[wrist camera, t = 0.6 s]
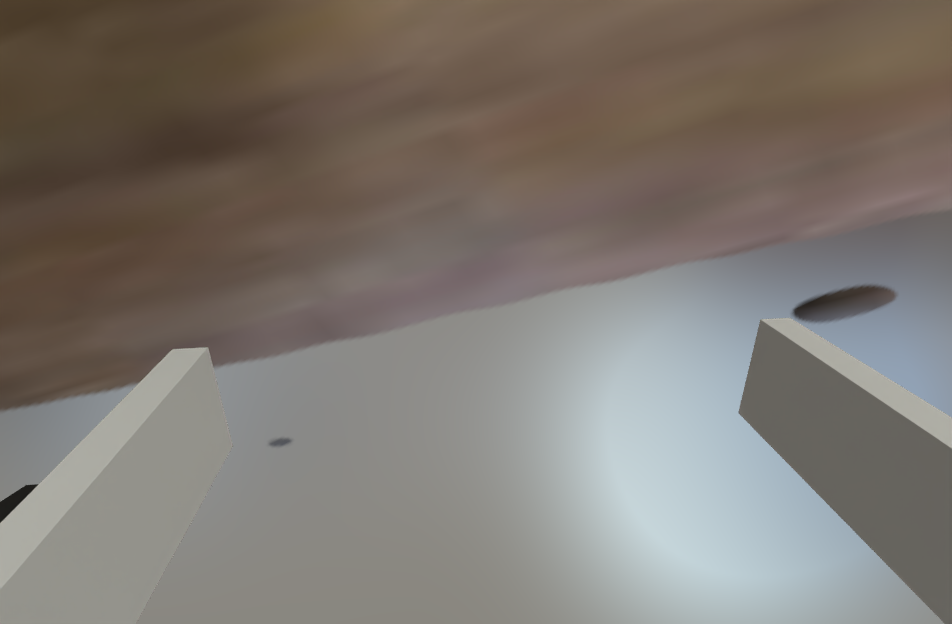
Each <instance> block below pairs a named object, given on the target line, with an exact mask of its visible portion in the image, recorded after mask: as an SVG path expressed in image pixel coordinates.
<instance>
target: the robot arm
mask: <svg viewBox="0 0 952 624" xmlns="http://www.w3.org/2000/svg"><path fill="white" fill-rule="evenodd" d="M739 414H740V415H741V416H742V417H743V418H744V419H745V420H746V421H747V422H748V423H749V424H750V425H751V426H752V427H753V428H754V429H755V430H756V431H757V432H758V433H759V434H760V435H761V436H762V438H763V439H765V441H766V442H767V443H768V444H769V445H771V447H772V448H773V449H774V450H775V451H776V452H777V453H778V454H779V455H780V456H781V457H782V458H783V459H784V460H785V461H786V462H787V463H788V464H789V465H790V466H791V467H792V468H793V469H794V470H795V471H796V472H797V473H798V474H799V475H800V476H801V477H802V478H803V479H804V480H805V481H806V482H807V483H808V484H809V485H810V486H811V488H812V489H813V490H815V492H816V493H817V494H818V495H819V496H820V497H821V498H822V499H823V500H824V501H825V502H826V503H827V504H828V505H829V506H830V507H831V508H832V509H833V510H834V511H835V512H836V513H837V514H838V515H839V516H840V517H841V518H842V519H843V520H844V521H845V522H846V523H847V524H848V525H849V526H850V527H851V528H852V529H853V530H854V531H855V532H856V533H857V534H858V535H859V536H860V538H861V539H862V540H863V541H864V542H865V543H866V544H867V545H868V546H869V547H870V548H871V549H872V550H874V552H875V553H876V554H877V555H878V556H879V557H880V558H881V559H882V560H883V561H884V562H885V563H886V564H887V565H888V566H889V567H890V568H891V569H892V570H893V571H894V572H895V573H896V574H897V575H898V576H899V577H900V578H901V579H902V580H903V581H904V582H905V583H906V584H907V585H908V586H909V588H911V590H912V591H913V592H914V593H915V594H916V595H917V596H918V597H919V598H920V599H921V600H922V601H923V602H924V603H925V604H926V605H927V606H928V607H929V608H930V609H931V610H932V611H933V612H934V613H935V614H936V615H937V616H938V617H939V618H940V619H941V620H942V621H943V622H944V623H945V624H952V418H951V417H950V416H948V415H947V414H945V413H943V412H942V411H940V410H939V409H937V408H935V407H934V406H932V405H930V404H929V403H927V402H926V401H924V400H922V399H921V398H919V397H917V396H916V395H914V394H912V393H911V392H909V391H908V390H906V389H904V388H903V387H901V386H899V385H898V384H896V383H895V382H893V381H891V380H890V379H888V378H886V377H885V376H883V375H882V374H880V373H878V372H877V371H875V370H874V369H872V368H870V367H869V366H867V365H865V364H864V363H862V362H861V361H859V360H857V359H855V358H854V357H852V356H851V355H849V354H848V353H846V352H844V351H843V350H841V349H839V348H837V347H836V346H835V345H833V344H831V343H830V342H828V341H826V340H825V339H823V338H822V337H820V336H818V335H817V334H815V333H813V332H812V331H810V330H809V329H807V328H805V327H804V326H802V325H800V324H799V323H797V322H796V321H794V320H792V319H791V318H779V319H761V320H760V324H759V328H758V332H757V337H756V341H755V345H754V350H753V353H752V358H751V362H750V366H749V371H748V375H747V380H746V383H745V387H744V392H743V396H742V400H741V405H740V409H739ZM232 447H233V444H232V440H231V436H230V433H229V428H228V424H227V421H226V417H225V413H224V409H223V405H222V401H221V397H220V393H219V389H218V385H217V381H216V377H215V373H214V369H213V365H212V361H211V357H210V353H209V349H208V347H206V348H186V349H172V350H171V351H170V352H169V353H168V354H167V355H166V356H165V357H164V358H163V359H162V360H161V361H160V362H159V363H158V364H157V366H156V367H155V368H154V369H153V370H152V371H151V372H150V373H149V374H148V375H147V376H146V377H145V378H144V379H143V380H142V381H141V382H140V383H139V384H138V385H137V386H136V387H135V388H134V389H133V390H132V391H131V392H130V393H129V394H128V395H127V396H126V397H125V398H124V399H123V400H122V401H121V402H120V403H119V404H118V405H117V406H116V407H115V408H114V409H113V410H112V411H111V412H110V413H109V414H108V415H107V416H106V417H105V418H104V419H103V420H102V421H101V422H100V423H99V424H98V425H97V426H96V427H95V428H94V429H93V430H92V431H91V432H90V433H89V434H88V435H87V436H86V437H85V438H84V439H83V440H82V441H81V442H80V443H79V444H78V445H77V446H76V447H75V448H74V449H73V450H72V451H71V452H70V453H69V455H67V456H66V458H64V460H63V461H61V463H59V464H58V465H57V467H56V468H55V469H54V470H53V471H52V472H51V473H50V474H49V475H48V476H47V477H46V478H45V479H44V480H43V481H42V482H41V483H40V484H38V485H26V486H25V487H23V488H21V489H20V490H18V491H16V492H15V493H14V494H12V495H10V496H9V497H7V498H6V499H4V500H2V501H1V502H0V624H136V623H137V621H138V619H139V617H140V616H141V614H142V612H143V610H144V608H145V606H146V605H147V603H148V601H149V599H150V597H151V595H152V594H153V592H154V590H155V588H156V586H157V584H158V583H159V581H160V579H161V577H162V575H163V573H164V572H165V570H166V568H167V566H168V564H169V562H170V561H171V559H172V557H173V555H174V553H175V551H176V550H177V548H178V546H179V544H180V542H181V541H182V538H183V537H184V535H185V533H186V531H187V530H188V528H189V526H190V524H191V522H192V520H193V518H194V517H195V515H196V513H197V511H198V509H199V508H200V506H201V504H202V502H203V500H204V498H205V497H206V495H207V493H208V491H209V489H210V487H211V486H212V484H213V482H214V480H215V478H216V476H217V474H218V473H219V471H220V469H221V467H222V465H223V464H224V462H225V460H226V458H227V456H228V454H229V453H230V451H231V449H232Z"/></svg>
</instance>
